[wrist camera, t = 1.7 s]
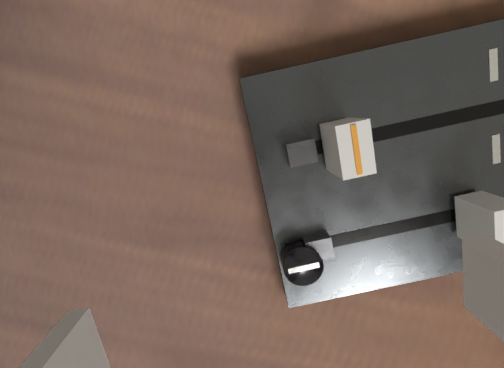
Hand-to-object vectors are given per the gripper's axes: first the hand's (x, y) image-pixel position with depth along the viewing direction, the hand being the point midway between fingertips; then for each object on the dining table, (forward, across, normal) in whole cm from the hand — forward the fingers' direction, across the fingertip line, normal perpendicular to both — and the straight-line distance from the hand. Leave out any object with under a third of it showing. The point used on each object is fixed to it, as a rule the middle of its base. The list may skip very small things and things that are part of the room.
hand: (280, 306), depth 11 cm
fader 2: (+17, +19, -6) cm, 26 cm away
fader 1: (+17, +7, +3) cm, 18 cm away
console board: (+19, +16, -1) cm, 25 cm away
